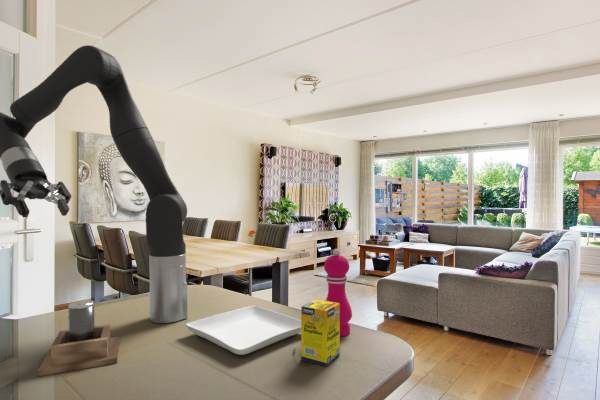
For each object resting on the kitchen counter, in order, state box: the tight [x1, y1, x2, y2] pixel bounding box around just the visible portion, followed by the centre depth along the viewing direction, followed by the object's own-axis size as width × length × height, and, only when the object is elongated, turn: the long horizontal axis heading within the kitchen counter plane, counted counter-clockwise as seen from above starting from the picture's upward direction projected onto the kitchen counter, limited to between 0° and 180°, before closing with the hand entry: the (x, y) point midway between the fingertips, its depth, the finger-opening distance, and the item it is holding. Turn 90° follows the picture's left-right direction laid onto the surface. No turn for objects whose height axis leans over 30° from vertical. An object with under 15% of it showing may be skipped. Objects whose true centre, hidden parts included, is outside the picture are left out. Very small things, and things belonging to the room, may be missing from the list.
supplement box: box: [300, 298, 341, 367], centre depth 75 cm, size 6×6×11 cm
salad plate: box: [185, 305, 301, 356], centre depth 87 cm, size 21×21×3 cm
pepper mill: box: [323, 248, 353, 338], centre depth 89 cm, size 7×7×20 cm
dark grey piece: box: [68, 299, 95, 343], centre depth 76 cm, size 4×4×10 cm
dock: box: [37, 323, 120, 377], centre depth 76 cm, size 13×12×4 cm
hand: (47, 214), depth 89 cm, fingers open, 8 cm apart
